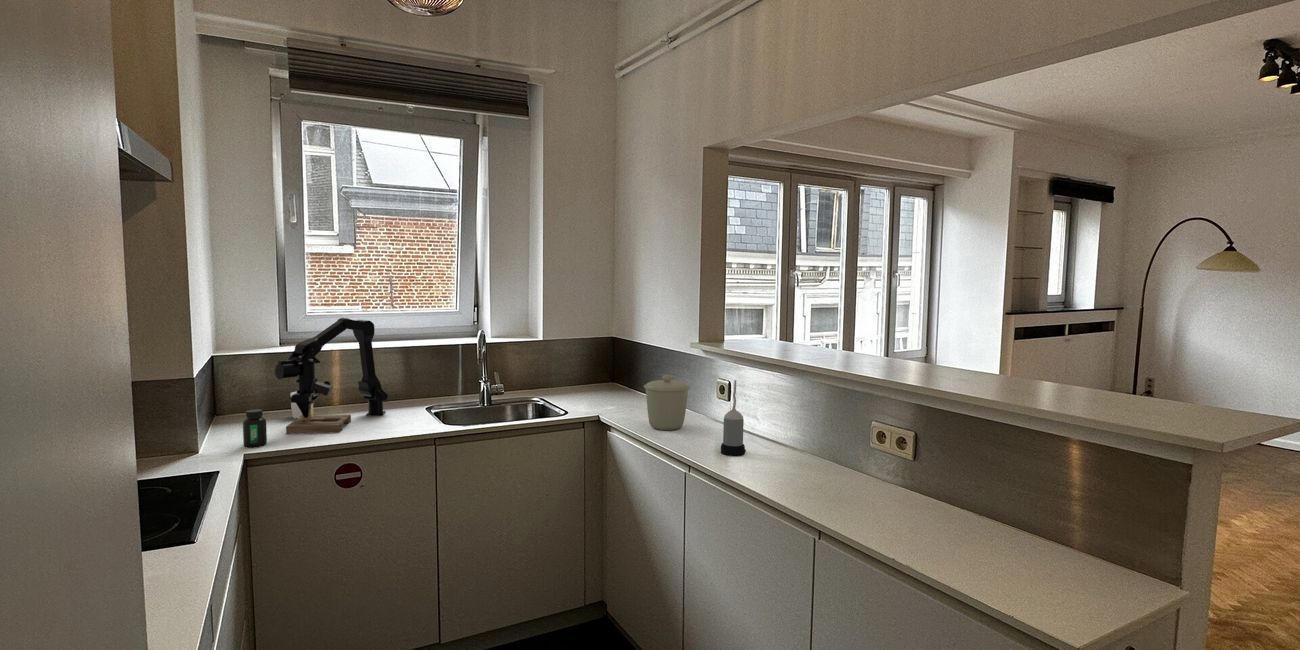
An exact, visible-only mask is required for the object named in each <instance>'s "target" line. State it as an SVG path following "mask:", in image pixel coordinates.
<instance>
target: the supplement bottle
mask: <svg viewBox="0 0 1300 650" xmlns="http://www.w3.org/2000/svg"><path fill="white" fill-rule="evenodd" d="M263 416H264V413H263V410H262V409H258V408H257V409H250V410H249V409H248V410H246V411H245V419H244V420H243V421H242V436H243V437H242V440H243V447H244V448H246V447H247V448H246V449H254V447H257V448H261V447H260V446H262V447H264V445H265V446H267V443H268V438H267V436H268V435H267V433H268V432H267V419H266V418H265V417H263Z"/></svg>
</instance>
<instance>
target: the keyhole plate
mask: <svg viewBox="0 0 1300 650" xmlns="http://www.w3.org/2000/svg"><path fill="white" fill-rule="evenodd" d="M351 422H352V415H351V414H349V413H348V414H317V415H314V418H313V419H312V420H310V421H305V420H302V416H300V417H299V418H297V419H296V418H295V420H293V421H292V422H290V423H289V424H287V425H286V426H285V434H286V435H289V434H288V433H304V434H328V433H327V432H334V433H340V432H342V431H343V425H349V424H350V423H351Z"/></svg>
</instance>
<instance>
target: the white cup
mask: <svg viewBox="0 0 1300 650" xmlns="http://www.w3.org/2000/svg"><path fill="white" fill-rule="evenodd" d="M296 393H297V391H292V392H290V393H289V394H290V397H292V396H293V395H294V394H296ZM290 405H291V406H290V407H291V412H292V418H293V419H296V418H299V417H300V416H302V412H301V411H300V409H299V407H298V406H297V404H296V403H291V402H290Z"/></svg>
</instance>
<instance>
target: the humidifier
mask: <svg viewBox="0 0 1300 650" xmlns="http://www.w3.org/2000/svg"><path fill="white" fill-rule="evenodd" d="M736 395H737V380H736V379H735V380H733V392H732V394H730V397H729V398H731V396H732V399H733V405H732V407H731V404H732V403H731V399H730V400H729V401H730V405H729V407H730V408H729V409H730V410H729V411H727V412H726V413H725V414H724V416H723V428H722V431H723V436H722V443H721V445H720V454H721V455H724V456H727V457H742V456H744V455H745V453H746V452H747V450H746V445H745V444H744V422H745V421H744V416H743V415H742V413H741V412H740V411H737V409H736V407H737V406H736V405H737V396H736Z"/></svg>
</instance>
